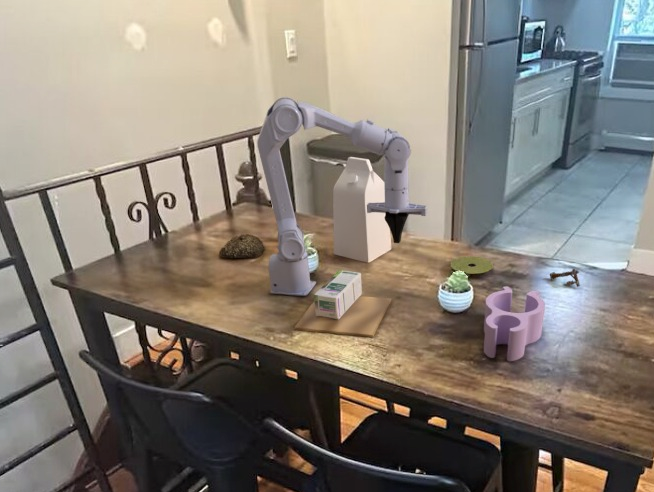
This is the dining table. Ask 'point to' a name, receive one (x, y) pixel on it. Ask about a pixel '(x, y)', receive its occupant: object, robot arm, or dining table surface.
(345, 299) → the syrup box
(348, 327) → the wooden board
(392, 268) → the dining table surface
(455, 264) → the mat
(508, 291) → the clip
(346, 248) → the milk
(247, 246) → the bread roll
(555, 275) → the wooden post with brackets
